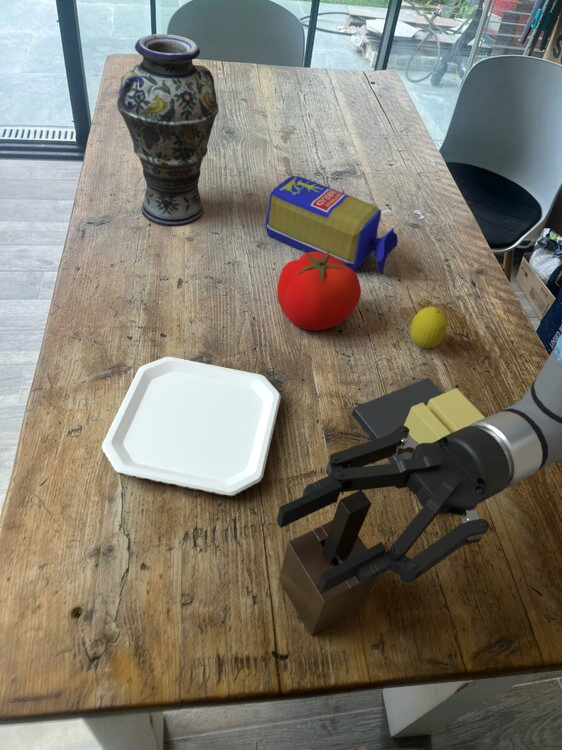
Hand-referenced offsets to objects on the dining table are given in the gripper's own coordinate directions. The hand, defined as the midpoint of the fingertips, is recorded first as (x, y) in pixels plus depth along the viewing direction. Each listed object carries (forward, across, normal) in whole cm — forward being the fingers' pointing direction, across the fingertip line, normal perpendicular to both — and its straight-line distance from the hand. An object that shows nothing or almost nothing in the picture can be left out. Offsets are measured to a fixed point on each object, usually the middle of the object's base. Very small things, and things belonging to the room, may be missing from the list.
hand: (300, 549), depth 52 cm
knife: (-5, 0, -15) cm, 16 cm away
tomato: (-29, +40, -15) cm, 52 cm away
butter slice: (-28, +11, -14) cm, 33 cm away
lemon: (-42, +27, -15) cm, 52 cm away
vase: (-20, +79, -15) cm, 83 cm away
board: (-30, +11, -15) cm, 35 cm away
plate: (-2, +27, -15) cm, 31 cm away
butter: (-33, +11, -14) cm, 37 cm away
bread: (-42, +56, -15) cm, 72 cm away
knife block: (-5, 0, -15) cm, 16 cm away
